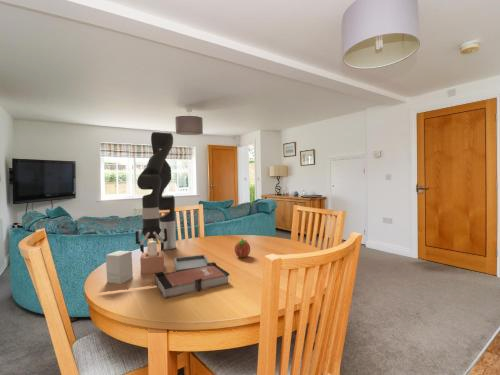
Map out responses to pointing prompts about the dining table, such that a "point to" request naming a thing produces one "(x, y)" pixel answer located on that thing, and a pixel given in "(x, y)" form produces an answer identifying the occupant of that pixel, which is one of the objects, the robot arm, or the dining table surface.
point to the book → (190, 280)
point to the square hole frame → (152, 263)
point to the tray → (190, 262)
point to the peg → (152, 248)
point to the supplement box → (119, 266)
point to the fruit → (242, 248)
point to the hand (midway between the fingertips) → (152, 251)
